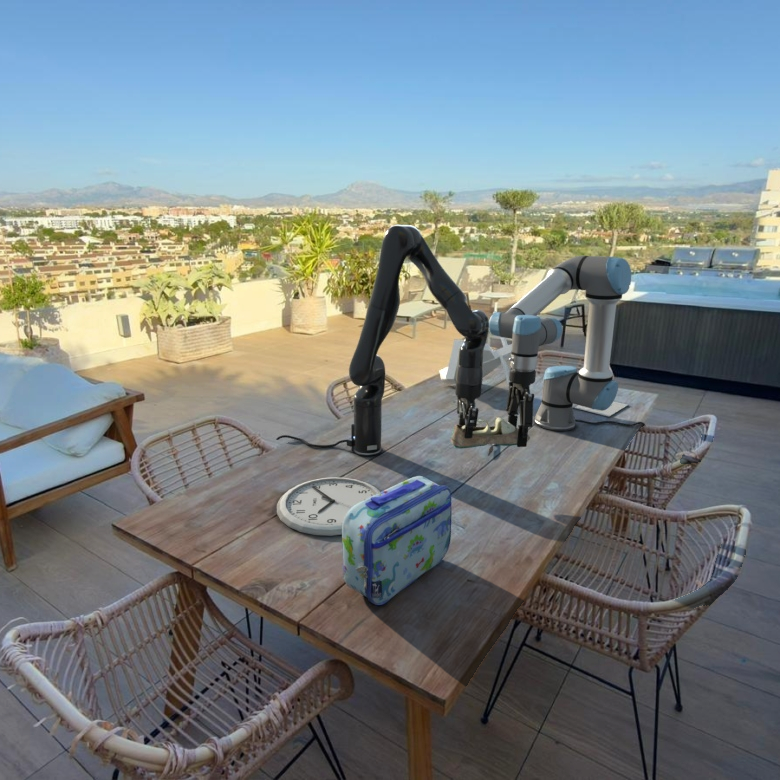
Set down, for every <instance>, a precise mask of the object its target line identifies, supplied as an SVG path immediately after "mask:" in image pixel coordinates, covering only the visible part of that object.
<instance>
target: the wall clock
mask: <svg viewBox="0 0 780 780" xmlns="http://www.w3.org/2000/svg"><path fill="white" fill-rule="evenodd" d="M380 492H382V491H381V490H380V489H379V488H377V487H376V486H374V485H372V484H371V483H369V482H365V481H362V480H359V479H355V478H349V477H338V476H337V477H335V476H333V477H332V476H331V477H322V478H317V479H312V480H307V481H305V482H302V483H299V484H297V485H295V486H293V487H292V488H290V489H288V490H287V491H286V492H285V493H284V494H283V495H281V496H280V498H279V499H278V502H277V503H276V515H277V517H278V518H279V520H280V521H281V522H282V523H283V524H285V525H286V526H287V527H288V528H290V529H293V530H295V531H297V532H299V533H303V534H308V535H312V536H327V537H328V536H329V537H331V536H332V537H333V536H342V525H343V521H344V518H345V516H346V514H347V512H348V511H349V510H350V509H351V508H352V507H353V506H354V505H356V504H358V503H360V502H362V501H364V500H366V499H368V498H370V497H372V496H374V495H376V494H378V493H380Z"/></svg>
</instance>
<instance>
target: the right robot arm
mask: <svg viewBox="0 0 780 780" xmlns="http://www.w3.org/2000/svg"><path fill="white" fill-rule="evenodd" d="M631 283H632V269H631V266H630V264H629V261H627V260H626V259H625V258H623V257H616V256H601V255H599V256H598V255H597V256H596V255H576V256H573V257H571V258H568V259H566V260H564V261H561V262H560V263H558V264H557V265H555V266H554V267H553V268H551V269H550V270H549V271H548V272H547V273H546V275H545V278H544V279H543V280H542V281H541V282H540V283H538V284H537V285H536V286H534V288H533V289H531V290H530V291H529V292H528V293H527V294H525V295H524V296H523V297H522V298H520V300H518V301H517V302H516V303H515V304H514V305H512V306H511V307H510V308H509V309H508V310H507V311H506V312H503V311H500V312H497V311H496V313H494V314H493V313H492V315H491V316H490V318H489V319H488V320H489V331H488V332H490V334H492V336H497V337H499V338H500V337H505V338H506V339H512V340H511V344H512V351H511V358H510V359H509V360H508V361H509V362H510V365H509V366H510V369H509V371H510V373H509V380H510V382H509V387H508V392H507V398H506V405H505V411H506V412H507V415H508V417H507V422H509V423H510V424H512V425H513V426H515V427H516V428H518V439H517V445H516V447H517V448H526V447H527V446H528V441H527V436H528V435H529V428H533V426H534V425H533V424H535V425H536V426H537V427H539V428H542V429H544V430H549V431H556V432H567V431H572V430H574V429H575V428H576V422H577V423H582V424H588V425H600V424H615V425H619V426H623V427H635V426H637V425H642V426H643V427H644V426H645V427H646V423H644V422H643V421H637V422H635V423H624V422H621V421H620V422H619V421H615V420H614V421H613V420H602V421H601V420H600V421H595V422H594V421H587V420H584V419H583V420H582V419H576V418H575V417H576V416H575V413H574V407H573V405H576V406H578V405H580V406H584V407H588V408H591V409H596V410H601V411H603V410H606V409H608V408H609V407H610V406H611V404H612V403H613V401H614V402H615V399H616V397H617V394H618V391H619V383H618V381H617V380H615V379H613V378H614V373H613V371H612V370H611V369H610V365H611V364H610V363H611V355H612V348H613V347H612V346H613V337H614V330H615V329H614V328H615V320H616V312H617V303H618V302H619V301H620V300H622V298H623V295H625V294H626V293H628V291H629V290H630V286H631ZM572 290H573V291H574V290H580V291H585V298H586V299H587V300H588V302H589V306H588V317H587V328H586V337H585V338H586V339H585V348H584V360H583V367H582V368H580V369H579V370H578V368H577V367H576V366H572V365H555V366H554V365H553V366H550V367H547V368H546V369H545V371H544V375H543V381H542V382H543V383H542V394H541V402H540V405H539V407H538V410H537V411H536V413H535V417H534V400H535V394H534V393H531V389H530V386H531V385H532V384H535V382H536V376H537V370H536V369H537V367H538V358H539V355H538V354H539V347H540V346H545V345H550V344H553V343H554V342H557V341H558V340H560V338H561V337H562V335H563V331H564V330H563V329H564V328H563V325H562V323H561V321H560V320H558V319H557V318H555V317H545V318H541V317H540V316H538V315H540V314H541V312H543V311H544V310H545V309H547V307H548V306H550V304H553V302H554V301H555V300H556V299H557V298H559V297H560V296H561V295H565V294H568V293H569V291H572ZM518 415H519V424H518Z"/></svg>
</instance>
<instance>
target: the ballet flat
mask: <svg viewBox="0 0 780 780" xmlns="http://www.w3.org/2000/svg"><path fill="white" fill-rule="evenodd" d="M483 422H485V424H486V426H478V425H480V424H482V423H483ZM518 429H519V427H517V428H516V427H515V426H513V425H512V424H510V423H509V422H508V420H507V421H506V420H505V419H504V418H502V417H499V416H497V417H495V420H494V425H493V426H490V425H489V422H488V420H487V419H486V418H481V419H477V425H476V427H473V435H472V438H465V436H464V435H465V425H464V426H462V425H459V423H458V424H455V425H454V427H453V429H452V432H451V436H450V443H451V444H452V446H453V447H454V448H455V449H461V450H462V449H471V448H472V449H473V448H477V447H478V448H479V447H483V446H488V445H492V444H496V446H501V447H512V446H513V447H514V446H517V439H518ZM530 440H531V436H530V435H529V434H528V436H527V442H528V441H530Z"/></svg>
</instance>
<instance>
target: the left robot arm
mask: <svg viewBox="0 0 780 780" xmlns="http://www.w3.org/2000/svg"><path fill="white" fill-rule="evenodd" d="M406 259H408V260H409V261H410V262H411V263H412V264H413V265H414V266H415V267H416V268H417V269H418V270H419V272H420V273H421V275H422V277H423V279H424V281H425V283H426V285H427V288H428V290H429V292H430V293H431V295H432V296H433V298H434V299H435V300H436V301H437V302H438V303H439V305H440V306H441V307H442V309H443V310H445V312H446V313H447V316H448V318H449V319H450V321H451V323H452V325H453V327H454V328H455V330H456V331H457V333H459V334H460V335H461V336H462V337H464V339H463V340H464V342H463V344H462V345H461V347H460V349H459V358H458V368H457V375H456V384H455V391H454V393H455V395H456V399H457V401H456V402H457V404H456V413H457V414H458V425H462V426H464V425H465V435H464V436H465V438H472V435H473V427H477V426H478V425H477V420H478V418H479V408H478V407H477V404H476V399H479V398H480V397H481V396H482V391H483V389H482V388H483V380H482V378H483V379H484V377H483V351H484V347H485V344H487V340H488V336H489V332H490V331H489V320H490V319H489V317H488V315H487V314H486V313H485V312H484V311H482V310H480V309H476V310H475V309H474V310H472V309H471V307H470V306H469V304H468V303H467V299H468V298H467V296H466V294H465V293H464V292H463V290H462V289H461V288H460V287H459V286H458V285H457V283H456V282H455V281H454V280H453V279H452V278H451V276H449V274H448V273H447V272H446V270H445V269H444V268H443V266H442V265H441V264H440V262H439V261H438V259H437V258H436V255H434V253H433V251H432V250H431V248H430V247H429V245H428V243H427V242H426V240H425V238H424V237H423V235H422V234H421V232H420V231H419V229H417V227H416V226H413V225H409V224H395V225H391V226H390V227H389V228H388V229H387V230H386V231H385V234H383V238H382V242H381V249H380V252H379V258H378V267H377V270H376V271H377V272H376V275H375V278H374V283H373V286H372V291H371V295H370V298H369V301H368V304H367V309H366V312H365V317H364V321H363V324H362V328H361V331H360V335H359V338H358V342H357V345H356V347H355V350H354V352H353V356H352V358H351V360H350V364H349V368H348V376H349V379H350V381H351V382H352V384H353V385H355V386H357V387H359V388H358V389H357V390H356V392H355V393H354V395H353V423H352V424H351V428H350V431H351V433H350V435H351V436H350V437H348V438H347V439H341V440H338V441H336V442H335V443H332V444H315V443H314V444H312V443H310V442H308V441H306V440H305V439H303V438H301V437H296V436H293V435H289V434H283V435H282V434H281V435H280V436H278V437H276V439H275V441H279V440H281V439H283V438H286V439H292V440H295V441H299V442H302V443H303V444H305V445H306V446H308V447H312V448H320V449H324V448H333V447H336V446H338V445H340V444H342V443H346V446H347V447H351V451H352V452H353V453H354V454H356V455H359V456H361V457H362V456H363V457H374V456H377V455H379V454H381V453H382V412H383V411H382V409H383V406H382V404H383V403H382V402H383V397H384V395H385V385H386V366H385V363H384V360H383V359H382V357H380V356H379V355H378V352H379V349H380V347H381V346H382V345H383V343H384V341H385V339H386V338H387V336H388V335H389V334H390V332H391V331H392V329H393V326H394V325H395V322H396V319H397V316H398V312H399V309H400V304H401V291H400V276H401V273H402V269H403V266H404V263H405V260H406Z"/></svg>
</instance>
